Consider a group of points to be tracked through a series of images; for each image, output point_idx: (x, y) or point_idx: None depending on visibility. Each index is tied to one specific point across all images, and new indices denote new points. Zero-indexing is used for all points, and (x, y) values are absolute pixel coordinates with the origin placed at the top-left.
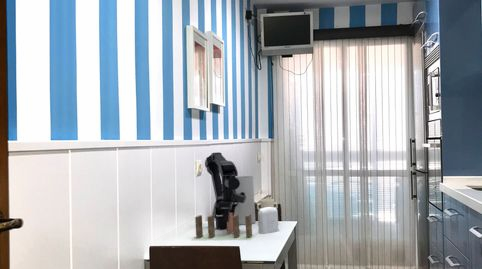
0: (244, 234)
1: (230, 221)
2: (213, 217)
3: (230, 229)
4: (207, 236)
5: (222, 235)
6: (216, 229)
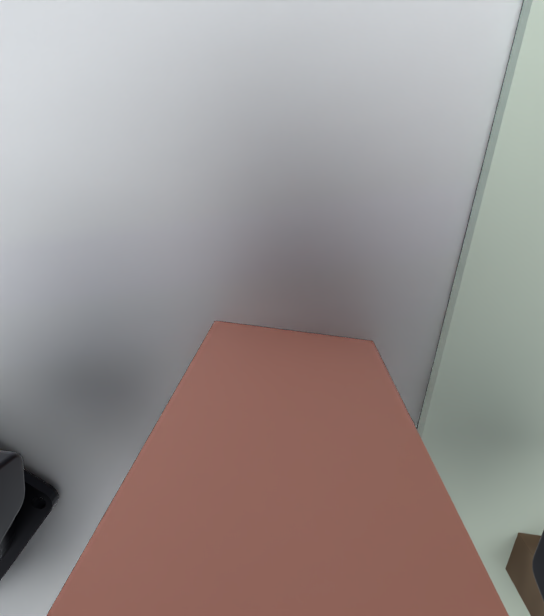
0: (518, 87)
1: (396, 467)
2: None
3: (389, 377)
4: None
5: (489, 447)
6: (7, 569)
